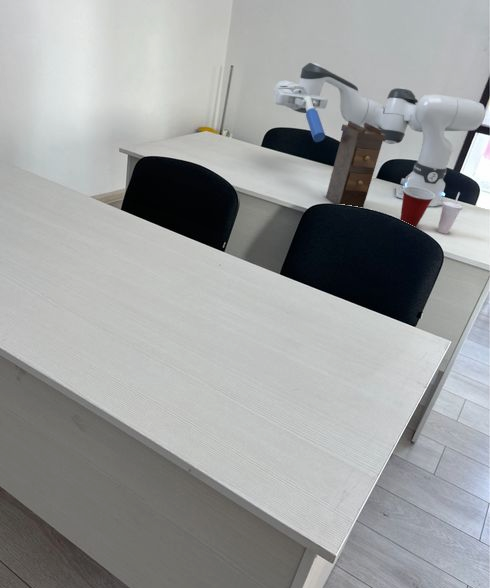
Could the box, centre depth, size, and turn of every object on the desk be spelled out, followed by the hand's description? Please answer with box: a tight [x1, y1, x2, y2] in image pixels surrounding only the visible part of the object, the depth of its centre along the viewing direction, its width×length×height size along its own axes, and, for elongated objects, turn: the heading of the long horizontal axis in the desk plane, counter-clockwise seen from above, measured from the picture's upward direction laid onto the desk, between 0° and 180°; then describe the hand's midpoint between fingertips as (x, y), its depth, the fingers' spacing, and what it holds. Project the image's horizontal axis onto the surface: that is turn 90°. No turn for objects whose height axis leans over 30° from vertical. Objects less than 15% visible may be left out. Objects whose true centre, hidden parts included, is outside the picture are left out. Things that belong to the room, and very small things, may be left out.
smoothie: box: [436, 191, 463, 235], centre depth 198 cm, size 6×6×14 cm
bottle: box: [303, 96, 326, 143], centre depth 215 cm, size 20×4×4 cm, turn 15°
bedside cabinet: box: [325, 121, 387, 208], centre depth 206 cm, size 14×11×28 cm
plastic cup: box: [399, 186, 435, 228], centre depth 199 cm, size 11×11×12 cm
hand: (309, 104), depth 218 cm, fingers closed on bottle, 3 cm apart
